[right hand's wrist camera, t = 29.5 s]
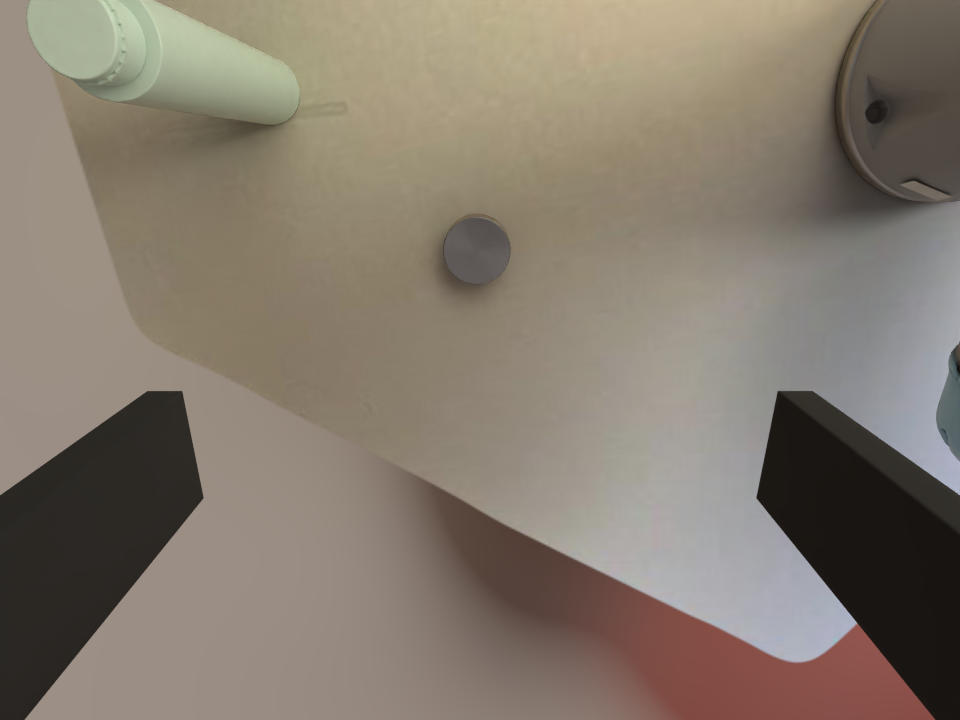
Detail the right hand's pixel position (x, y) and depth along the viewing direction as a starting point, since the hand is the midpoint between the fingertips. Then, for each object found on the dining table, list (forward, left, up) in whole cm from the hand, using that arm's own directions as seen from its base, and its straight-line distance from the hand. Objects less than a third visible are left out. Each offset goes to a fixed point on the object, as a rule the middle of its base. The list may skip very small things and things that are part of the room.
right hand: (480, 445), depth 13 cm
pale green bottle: (-3, -17, -29) cm, 34 cm away
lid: (0, 0, -28) cm, 28 cm away
